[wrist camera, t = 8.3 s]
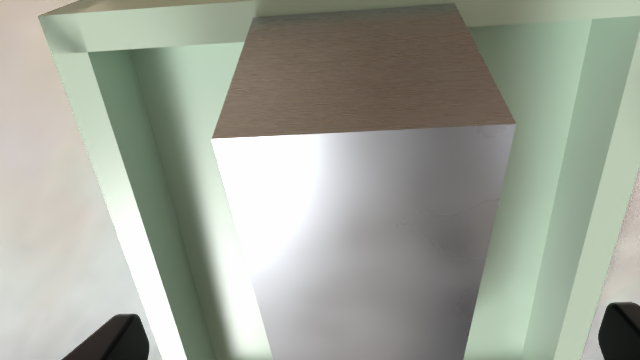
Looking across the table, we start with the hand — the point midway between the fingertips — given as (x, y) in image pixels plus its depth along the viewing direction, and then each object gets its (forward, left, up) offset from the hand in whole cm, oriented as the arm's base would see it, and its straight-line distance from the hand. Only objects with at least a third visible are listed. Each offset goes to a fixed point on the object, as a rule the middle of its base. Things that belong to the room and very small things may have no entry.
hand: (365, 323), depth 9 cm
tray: (-2, 0, -6) cm, 6 cm away
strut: (-1, 0, -4) cm, 4 cm away
